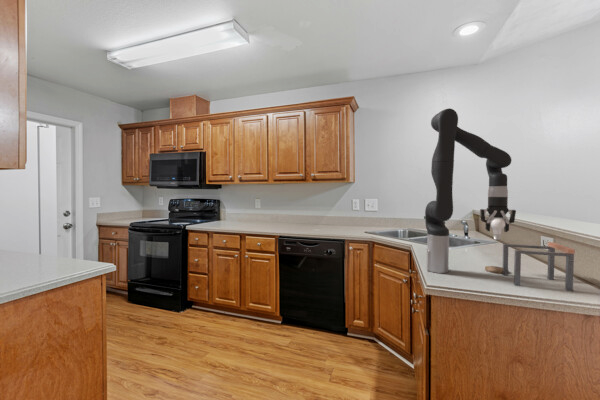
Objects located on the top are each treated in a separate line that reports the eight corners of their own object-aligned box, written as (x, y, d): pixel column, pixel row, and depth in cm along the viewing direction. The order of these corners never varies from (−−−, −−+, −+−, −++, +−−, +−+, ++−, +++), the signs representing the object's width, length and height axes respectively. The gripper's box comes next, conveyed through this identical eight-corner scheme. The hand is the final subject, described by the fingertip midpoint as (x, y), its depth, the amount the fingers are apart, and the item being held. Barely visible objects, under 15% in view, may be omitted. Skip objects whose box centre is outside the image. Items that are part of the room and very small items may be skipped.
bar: (567, 253, 106) (567, 249, 105) (547, 245, 120) (547, 242, 120) (574, 253, 105) (574, 249, 105) (553, 246, 120) (553, 242, 120)
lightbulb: (507, 241, 128) (508, 217, 127) (492, 241, 129) (492, 217, 129) (500, 239, 134) (501, 216, 133) (486, 238, 135) (486, 216, 135)
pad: (487, 272, 129) (487, 270, 129) (482, 267, 138) (482, 265, 137) (511, 274, 126) (511, 272, 126) (504, 269, 134) (504, 267, 134)
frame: (515, 285, 112) (516, 250, 111) (502, 274, 127) (503, 243, 126) (572, 291, 105) (573, 254, 105) (552, 278, 120) (552, 246, 120)
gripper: (481, 196, 130) (481, 231, 130) (519, 196, 125) (518, 233, 125) (477, 195, 137) (477, 229, 137) (513, 195, 132) (512, 231, 132)
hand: (497, 231), depth 131 cm, fingers closed on lightbulb, 6 cm apart
